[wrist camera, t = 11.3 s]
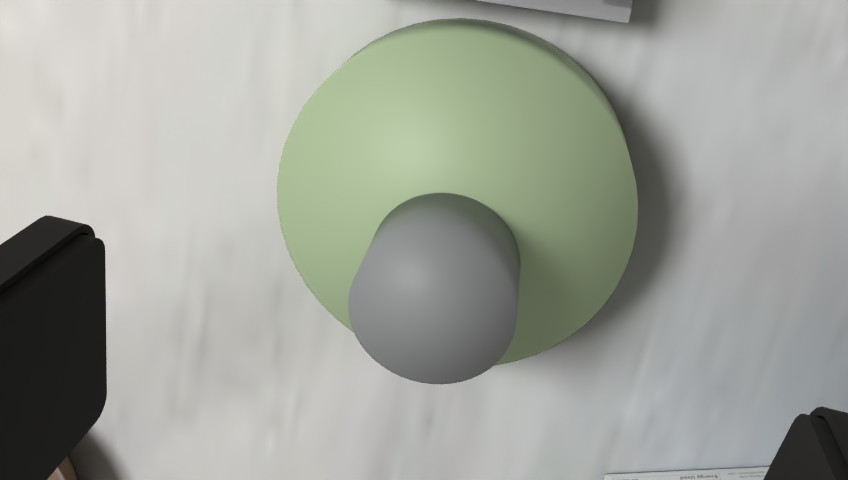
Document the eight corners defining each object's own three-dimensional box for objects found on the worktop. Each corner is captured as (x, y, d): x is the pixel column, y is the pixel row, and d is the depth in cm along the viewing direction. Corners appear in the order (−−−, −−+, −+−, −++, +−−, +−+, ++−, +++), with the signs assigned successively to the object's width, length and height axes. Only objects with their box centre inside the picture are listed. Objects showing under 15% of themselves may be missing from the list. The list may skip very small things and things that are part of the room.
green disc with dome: (780, -366, 23) (863, -449, 17) (589, 354, 35) (597, 460, 29) (327, -415, 24) (250, -510, 18) (292, 299, 36) (238, 389, 30)
